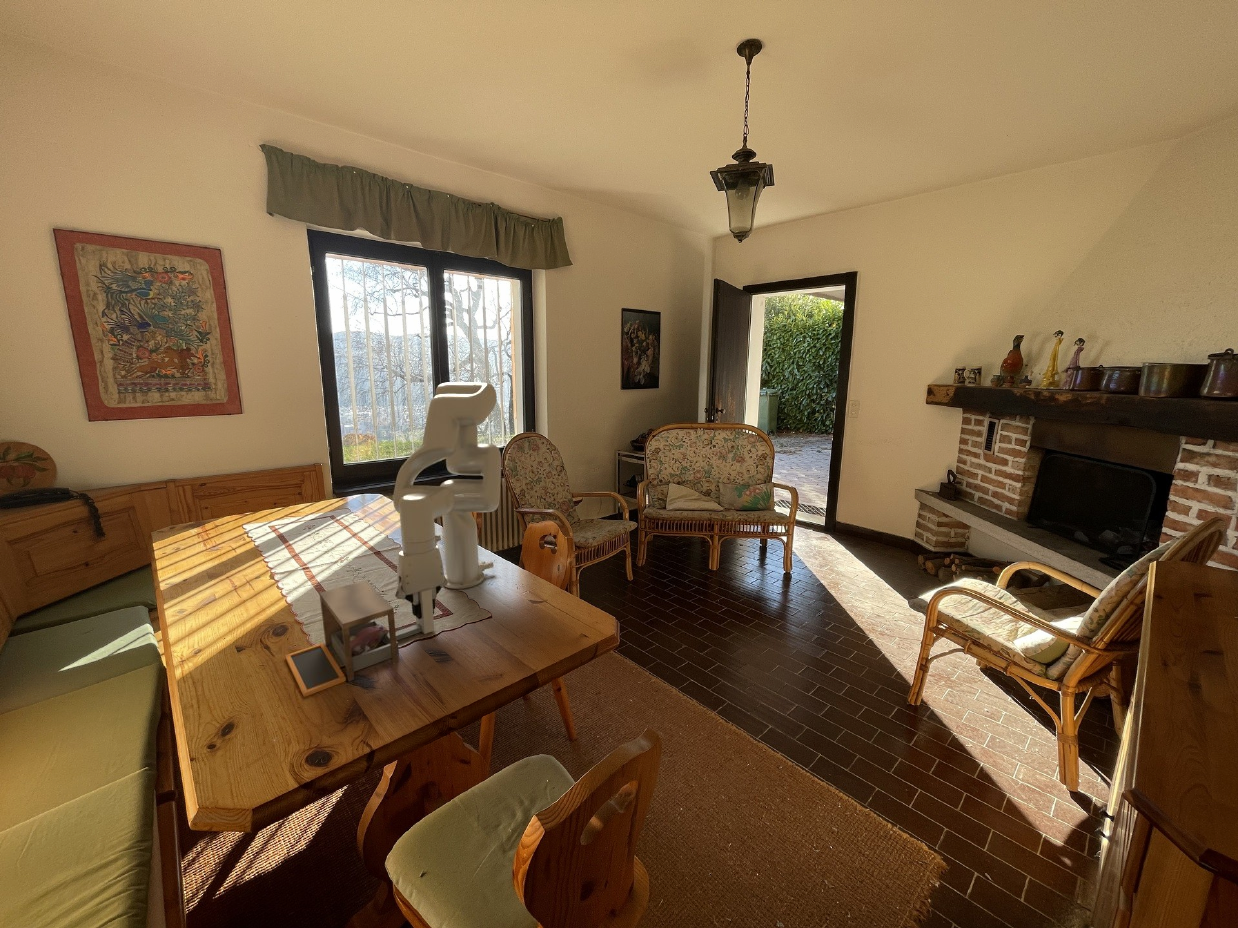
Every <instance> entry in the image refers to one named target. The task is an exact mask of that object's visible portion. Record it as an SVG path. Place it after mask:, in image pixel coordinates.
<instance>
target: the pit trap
mask: <svg viewBox="0 0 1238 928" xmlns="http://www.w3.org/2000/svg"><path fill="white" fill-rule="evenodd" d="M284 656H285V661H286V662H287V665H288V667H289V669H290V670H291V673H292V675H293V677H294V679H295V681H296V683H297V685H298V688H299V690H300V691H301V693H302V696H303V698H305V697H308V696H311V695H313V694H316V693H318V692H321V691H323V690H326V689H328V688H331V687H335V686H337V685H339V684H341V683H344V682H346V681H347V679H346V678H347V676H345V674H344V673H343V671H342V669H341V668H340V666H339V665H338V663H337V661H336V660H335V658H334V657H333V655H332V654H331V652H330V651H329V649H328V646H326V644H325V642H322V643H317V644H315V645H312V646H308V647H306V648H303V649H300V650H296V651H294V652H291V653H288V654H286V655H284Z"/></svg>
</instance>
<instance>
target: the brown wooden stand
mask: <svg viewBox="0 0 1238 928" xmlns="http://www.w3.org/2000/svg"><path fill="white" fill-rule="evenodd" d="M319 601H320V602H319V603H320V611H321V616H322V617H321V619H322V625H323V634H324V644H325V646H326V647H330V646H332V642H331V633H335V632H338V631H341V630H342V633H343V642H344V643H343V645H344V651H345V660H346V666H345V668H346V678H347V680H348V682H351V681H354V680H355V675H354V674H355V672H353V664H352V657H353V656H352V655H353V654H351V645H350V636H349V628H350V627H353V626H356V625H359V624H362V623H365V622H368V621H372V620H375V619H377V620H378V619H379V618H383V617H387V622H388V623H387V624H388V632H389V636H390V647H391V658H390V659H391V663H392V664H393V665H395V664H397V663H399V655H397V643H396V625H395V613H394V612H395V611H394V607H393V606H392V605H391V604H390V603H389V602H388V601H387V600H386V599H385V598H384V597H383V596H382V595H381V594H380V593H379V592H378V591H377V590H376V589H375V588H374V587H373V586H372V585H371V584H370V583H369V582H368V581H367V580H361V581H359V582H354V583H351V584H348V585H344V586H340V587H335V588H333V589H329V590H326V591H321V592H319Z"/></svg>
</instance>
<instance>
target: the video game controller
mask: <svg viewBox="0 0 1238 928" xmlns="http://www.w3.org/2000/svg"><path fill="white" fill-rule="evenodd" d="M382 625H383V624H382ZM382 625H380V624H377V625H376V626H373V627H367V628H364V629H362V630H361V631H360V632H359V633H357V634H356V635H355V636H352V637H351V638H350V645H351V654H352V655H353V654H354V655H355V656H357V655H360V654H363V653H365V651H366V646H367V647H368V648H369V649H372V650H373V648H375V647H377V646H378V644H379V643H380V642H381V641H382V639H383V638H384V637H385V633H387V632H389V629H387V627H385V626H384V625H383V626H382ZM365 644H366V646H365ZM343 648H344V644H343Z"/></svg>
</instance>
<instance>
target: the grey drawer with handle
mask: <svg viewBox="0 0 1238 928" xmlns="http://www.w3.org/2000/svg"><path fill="white" fill-rule="evenodd" d="M418 600H419V603H420V604H421V611H422V618H421V619H418V618H417V617H416V616H415V619H416V621H415V623H416V624H414V625H411V626H409V627H405V628H402V629H399V630H397V631H396V630H395V632H396V643H397V655H398V656H400V651H399V642H398V640H402V639H404V638H407V637H410V636H413V635H416V634H419V633H421V632H422V633H423V634H424V635H427V634H428V633H431V632H434V631H435V621H434V619H435V617H434V614H433V603H432V589H426V590H423V591H420V592H418ZM377 624H380V625H382V626H384V625H383V624H382V623H381V622H380V621H379V620H378V618H377V619H374V620H371V621H368V622H365V623H362V624H359V625H356V626H353V627H350V628H349V636H350V638H351V637H352V636H355V635H356V634H357V633H359V632H360V631H361V630H362V629H364V628H367V627H373V626H376V625H377ZM381 641H382V642H383V643H384V644H385V645H382V646H380V647H377V648H375V649H372V650H369V651H366V652H363V653H362V654H360V655H355V656H352V664H353V673H355V672H357V671H359V670H362V669H364V668H367V667H368V668H369V667H370V666H373V665H377V664H378V663H381V662H383V661H385V660H389V659H392V658H391V647H390V636H389V631H388V632H387V633H385V637H384V638H383V639H382V640H381ZM331 642H332V645H331V646H332V648H333V649H334V651H335V653H336V654H337V655H338V657H339V659H340V660H341V662H342V663H343V665H344V666H345V667H346V660H345V651H344V648H343V645H344V642H343V633H342V630H341V631H338V632H335V633H331Z"/></svg>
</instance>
